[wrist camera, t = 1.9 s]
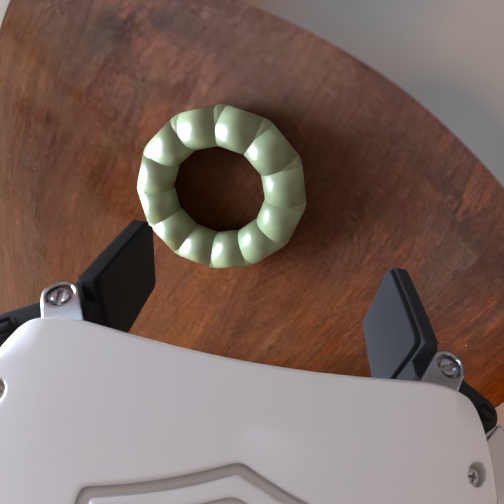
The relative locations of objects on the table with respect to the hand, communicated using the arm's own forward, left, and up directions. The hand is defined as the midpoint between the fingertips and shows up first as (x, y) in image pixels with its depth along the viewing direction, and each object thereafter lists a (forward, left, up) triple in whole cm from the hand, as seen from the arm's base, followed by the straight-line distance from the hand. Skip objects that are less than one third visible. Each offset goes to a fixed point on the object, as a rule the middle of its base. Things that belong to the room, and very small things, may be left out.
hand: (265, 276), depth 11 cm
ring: (+2, -3, -7) cm, 8 cm away
